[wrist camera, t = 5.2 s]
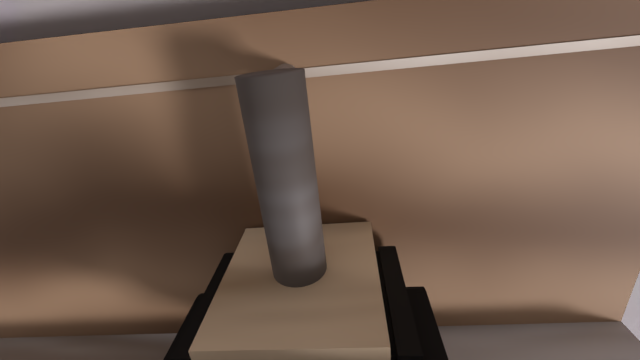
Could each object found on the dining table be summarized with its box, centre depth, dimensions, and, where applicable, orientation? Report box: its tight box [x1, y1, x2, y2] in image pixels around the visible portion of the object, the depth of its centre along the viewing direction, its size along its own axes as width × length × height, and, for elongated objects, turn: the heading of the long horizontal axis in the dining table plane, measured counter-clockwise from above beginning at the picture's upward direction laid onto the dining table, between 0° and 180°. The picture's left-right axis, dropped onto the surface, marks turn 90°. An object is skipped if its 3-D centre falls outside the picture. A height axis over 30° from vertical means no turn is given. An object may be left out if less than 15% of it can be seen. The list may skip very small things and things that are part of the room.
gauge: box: [188, 63, 391, 360], centre depth 8 cm, size 9×4×4 cm, turn 6°
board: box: [0, 0, 640, 360], centre depth 11 cm, size 12×25×4 cm, turn 96°
